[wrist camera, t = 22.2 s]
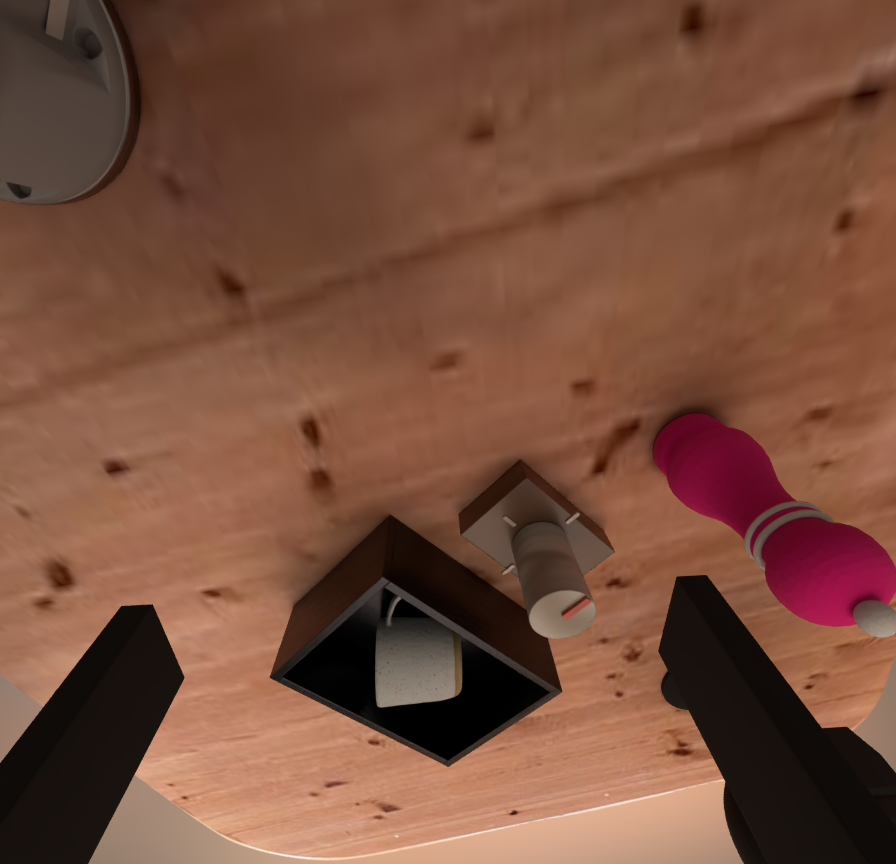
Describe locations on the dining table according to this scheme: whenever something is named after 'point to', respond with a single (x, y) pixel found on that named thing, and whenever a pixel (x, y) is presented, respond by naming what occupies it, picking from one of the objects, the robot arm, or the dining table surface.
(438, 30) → the dining table surface
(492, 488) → the panel
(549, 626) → the tap knob
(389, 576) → the dark brown open box
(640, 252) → the dining table surface
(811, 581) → the pepper mill
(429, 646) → the ceramic mug
